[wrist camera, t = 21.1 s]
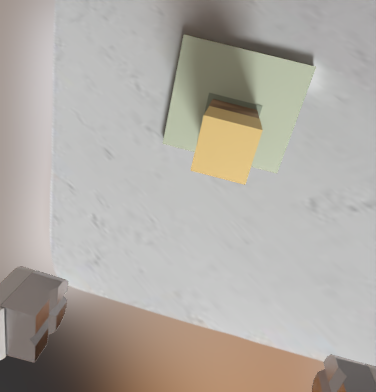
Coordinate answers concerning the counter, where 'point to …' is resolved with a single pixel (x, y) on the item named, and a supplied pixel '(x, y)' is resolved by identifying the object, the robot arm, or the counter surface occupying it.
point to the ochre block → (226, 144)
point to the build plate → (236, 94)
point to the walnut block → (234, 108)
